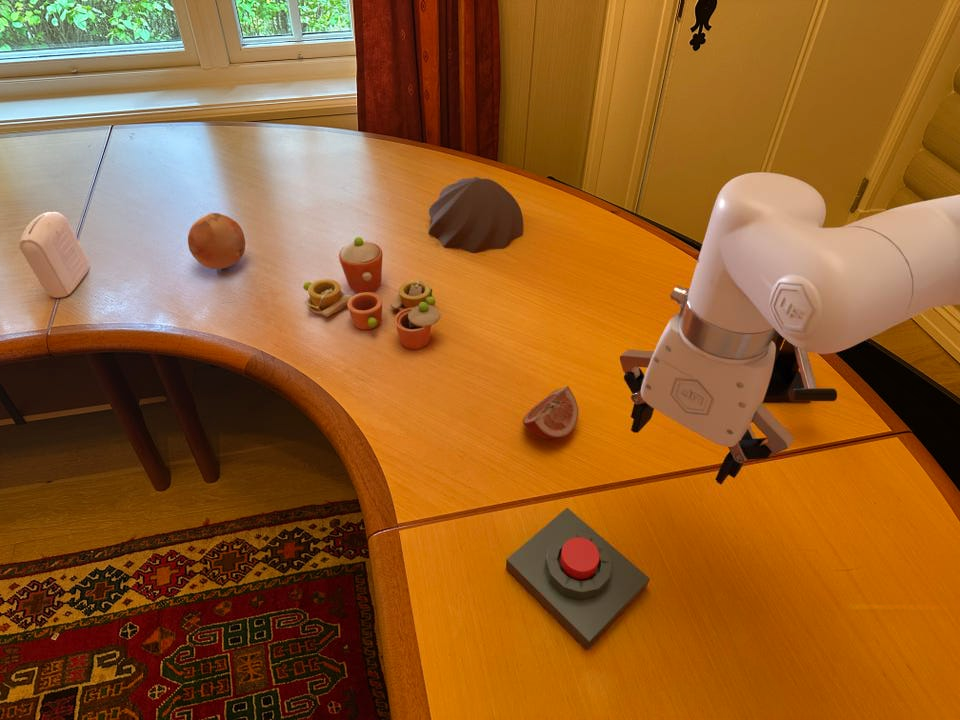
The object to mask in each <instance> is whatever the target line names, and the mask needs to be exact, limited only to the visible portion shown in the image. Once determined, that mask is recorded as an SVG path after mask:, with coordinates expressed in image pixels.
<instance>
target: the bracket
mask: <svg viewBox="0 0 960 720" xmlns="http://www.w3.org/2000/svg"><path fill="white" fill-rule="evenodd" d="M772 341H773V342H774V343H775V346H776V352H775V360H774V366H773V371H772V375H771V378H770V382H769V385H768V388H767V391H766V394H765V397H764V400H763V403H811V402H812V401H790V400H789V397H788V392H789V389H791V388H804V385H803V381H802V377H801V373H800V369H799V365H798V362H797V358H796V354H795V350H794V346H793V344H791V343H789V342H788V341H787V340H786V339H785V338H783V337H782V336H781V335H780V334H779V333H778V332H777V331H776V332H775V335H774V337H773V339H772Z"/></svg>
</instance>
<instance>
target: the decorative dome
mask: <svg viewBox="0 0 960 720" xmlns="http://www.w3.org/2000/svg"><path fill="white" fill-rule="evenodd" d="M428 215H429V218H430V221H431V224H430V225H429V228H428V230H427V233H428V235H431V236H432V237H434V238H436V239H438V240H439V242H440V244H441V245H442V247H443V248H453V249H461V250H464V251H466V252H470V253H471V254H476V253H479V252H483V251H485V250H493V249H495V250H497V249H498V250H499V249H502V250H503V249H505V248H507V246H508V245H509V243H510V242H511V241H513V240H516V239H518V238H520V237H522V236H523V234H524V217H523V211H522V209H521V206H520V205H519V202H518V201H517V200H516V198H515V197H514V196H513V195H512V194H511V193H510V192H509V191H508V190H507V189H506V188H504V187H503V186H502V185H501V184H500V183H498V182H496V181H494V180H493V179H490V178H481V177H478V176H473V177H468V178H467V177H465V178H460V179H459V180H457V181H456V182H453V183H452V184H449V185H447V186H446V187H444V188H442V189H441V191H440V192H439V196H438V199H436V201H434V202H433V203H432V204H431V205H430V207H429V209H428Z"/></svg>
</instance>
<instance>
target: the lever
mask: <svg viewBox="0 0 960 720" xmlns="http://www.w3.org/2000/svg"><path fill="white" fill-rule="evenodd" d="M793 346H794V345H793ZM794 350H795V354H796V358H797V362H798V365H799V369H798V370H799V371H800V373H801V377H802V381H803V385H804V388H791V389H789V392H788V397H789V400H790V401H811V402H836V401H837V398H838V392H837V390H836V388H834V387H833V388H829V387H827V388H826V387H824V388H822V387H820V388H818V386H817V383H816V379H815V376H814V372H813V368H812V364H811V360H810V357H809V352H807V351H804V350H801V349H799V348H798V347H796V346H794Z"/></svg>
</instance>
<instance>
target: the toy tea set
mask: <svg viewBox="0 0 960 720" xmlns="http://www.w3.org/2000/svg"><path fill="white" fill-rule="evenodd" d="M383 254H384V253H383V250H382V248H381V247H380V246H379V245H378V244H376V243H374V242H371V241H368V240H365V239H363V238H362V237H360V236H356V237H355V238H354V239H353V241H351V242H349V243H347V244H346V245H345V246H343V247H342V248H341V249H340V251H339V253H338V260H339V264H340V265H341V268H342V271H343V274H344V276H345V279H346V282H347V285H348V287H349V289H351V291H353V292H355V293H356V294H354V295H353V296H352V295H351V294H346V293H344V292H343V291H342V290H341V284H340V282H338V281H337V280H335V279H331V278H322V279H318V280H314V281H313V282H310V281H305V282H304V283H303V284H302V286H303V287H302V288H303V289H304V290H305V291H306V292H308V293H307V294H308V295H309V297H308V299H307V301H305V302H304V304H307V308H308V309H309V311H311V312H313V313H315V314H317V315H322V316H324V317H329V316H331V315H333V314H334V313H335V314H336V313H337V312H339V311H341V310H342V309H343V308H345V306H347V310H348V312H349V314H350V317H351V319H352V322H353V325H355V327H356V328H358V329H361V330H372V329H374V328H377V327H378V326H379V325H380V324H381V323H382V319H383V318H382V317H383V304H384V303H383V298H382V297H381V296H380V295H379V294H377V293H375V292H374V291H376V290H377V289H379V287H380V286H381V284H382V277H383V276H382V273H383V256H384V255H383ZM435 305H436V299H435V297H434V295H433V288H432V287H431V286H430V285H429V283H427V282H425V281H423V280H422V279H419V280H409V281H406V282H404V283H402V284H401V285H400V286H399V287H398V293H397V296H395V298H393V299H392V300H391V301H390V307H391V308H392V309H397V310H398V313H397V314H396V315H395V317H394V325H395V328H396V330H397V334H398V337H399V340H400V343H401V344H402V345H403V347H405V348H407V349H410V350H419V349H422V348H424V347H426V346H427V345H428V343H429V342H430V338H431V329H432V326H433V325H435V324H437V323H438V322H439V320H440V318H441V312H440V310H439V309H438V308H437V307H435Z"/></svg>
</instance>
